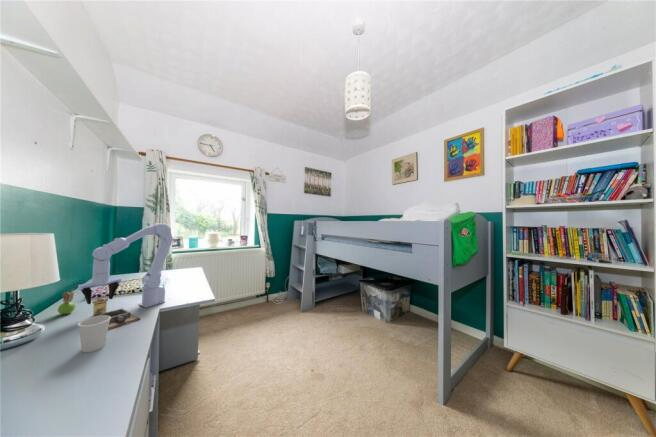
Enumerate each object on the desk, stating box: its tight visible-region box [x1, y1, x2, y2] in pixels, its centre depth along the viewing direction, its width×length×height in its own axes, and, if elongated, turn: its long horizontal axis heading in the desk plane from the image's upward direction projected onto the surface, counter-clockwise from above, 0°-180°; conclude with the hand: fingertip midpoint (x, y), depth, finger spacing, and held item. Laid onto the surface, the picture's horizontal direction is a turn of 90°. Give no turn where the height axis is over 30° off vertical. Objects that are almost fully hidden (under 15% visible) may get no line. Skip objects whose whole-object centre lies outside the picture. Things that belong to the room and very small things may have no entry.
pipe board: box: [97, 307, 141, 330], centre depth 102 cm, size 12×16×3 cm
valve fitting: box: [91, 297, 109, 317], centre depth 107 cm, size 5×5×8 cm
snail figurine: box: [57, 288, 76, 315], centre depth 107 cm, size 5×6×12 cm
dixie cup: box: [76, 315, 111, 353], centre depth 81 cm, size 8×8×10 cm
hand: (100, 301), depth 107 cm, fingers open, 7 cm apart
